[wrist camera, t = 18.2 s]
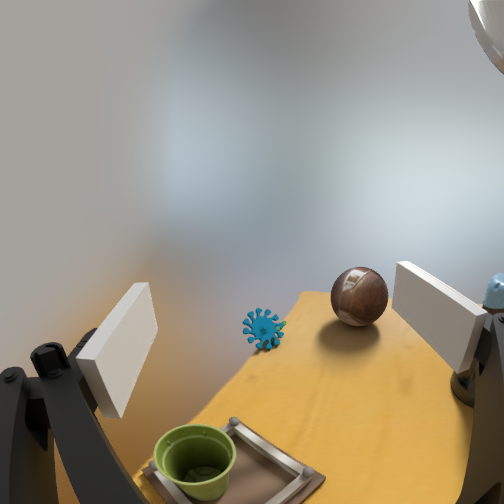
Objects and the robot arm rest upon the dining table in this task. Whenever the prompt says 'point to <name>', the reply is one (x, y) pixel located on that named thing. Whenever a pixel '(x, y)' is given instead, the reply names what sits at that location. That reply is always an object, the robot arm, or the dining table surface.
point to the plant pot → (196, 459)
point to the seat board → (249, 474)
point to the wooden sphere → (359, 296)
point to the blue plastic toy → (263, 328)
